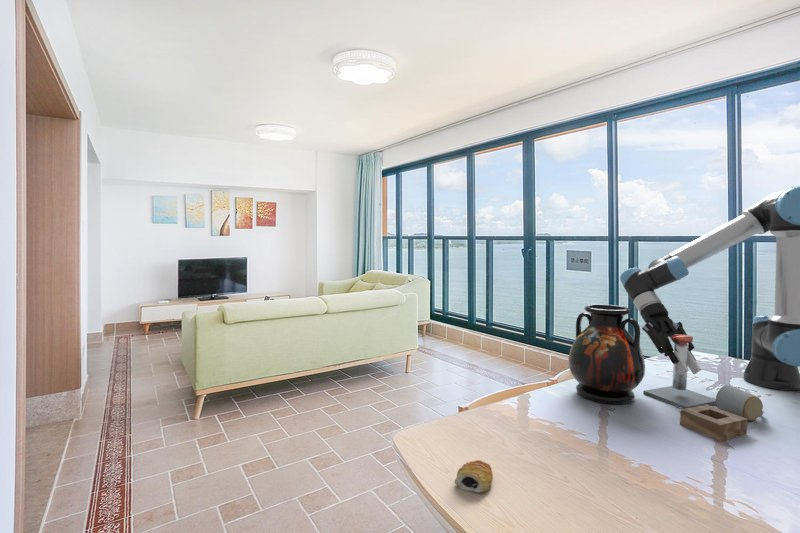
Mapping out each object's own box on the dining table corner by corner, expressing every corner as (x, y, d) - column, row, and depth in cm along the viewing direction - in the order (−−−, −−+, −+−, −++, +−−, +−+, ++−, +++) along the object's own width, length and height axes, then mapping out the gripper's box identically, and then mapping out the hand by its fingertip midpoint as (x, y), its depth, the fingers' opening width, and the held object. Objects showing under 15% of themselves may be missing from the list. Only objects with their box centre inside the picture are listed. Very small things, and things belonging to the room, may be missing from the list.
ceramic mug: (744, 424, 113) (746, 395, 112) (714, 412, 120) (715, 385, 120) (772, 420, 116) (774, 392, 115) (741, 408, 123) (743, 382, 123)
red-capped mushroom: (677, 384, 134) (679, 333, 133) (694, 390, 129) (697, 337, 128) (664, 386, 132) (666, 334, 131) (681, 392, 127) (684, 338, 126)
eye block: (705, 418, 116) (706, 404, 116) (746, 434, 106) (747, 418, 106) (680, 424, 112) (680, 409, 112) (719, 441, 103) (720, 425, 103)
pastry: (467, 466, 92) (468, 449, 92) (498, 474, 89) (499, 456, 89) (453, 488, 84) (453, 470, 83) (486, 498, 80) (487, 479, 80)
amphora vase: (554, 394, 134) (556, 306, 132) (586, 379, 148) (588, 300, 147) (627, 415, 118) (630, 315, 116) (654, 396, 132) (658, 307, 130)
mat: (674, 388, 140) (674, 385, 140) (719, 403, 127) (719, 400, 127) (643, 393, 135) (643, 390, 135) (686, 410, 122) (686, 406, 122)
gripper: (665, 314, 146) (706, 376, 131) (623, 315, 143) (659, 379, 128) (679, 301, 140) (723, 364, 125) (635, 302, 137) (674, 367, 122)
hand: (691, 372), depth 127 cm, fingers closed on red-capped mushroom, 3 cm apart
